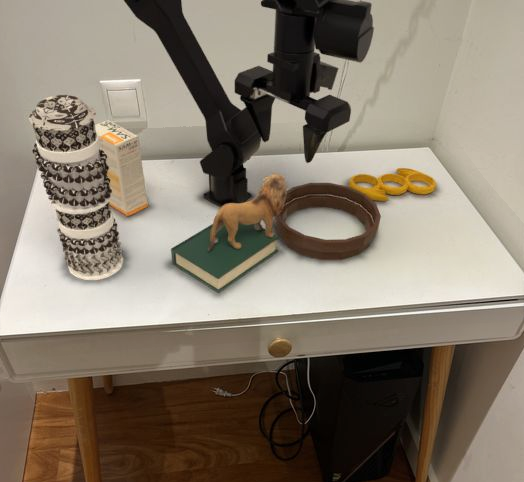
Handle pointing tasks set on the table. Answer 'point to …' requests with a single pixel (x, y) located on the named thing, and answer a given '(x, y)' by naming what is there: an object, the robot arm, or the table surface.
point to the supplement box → (123, 167)
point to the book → (223, 255)
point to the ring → (323, 198)
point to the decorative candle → (77, 185)
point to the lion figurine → (252, 211)
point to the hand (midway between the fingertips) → (286, 151)
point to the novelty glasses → (403, 179)
